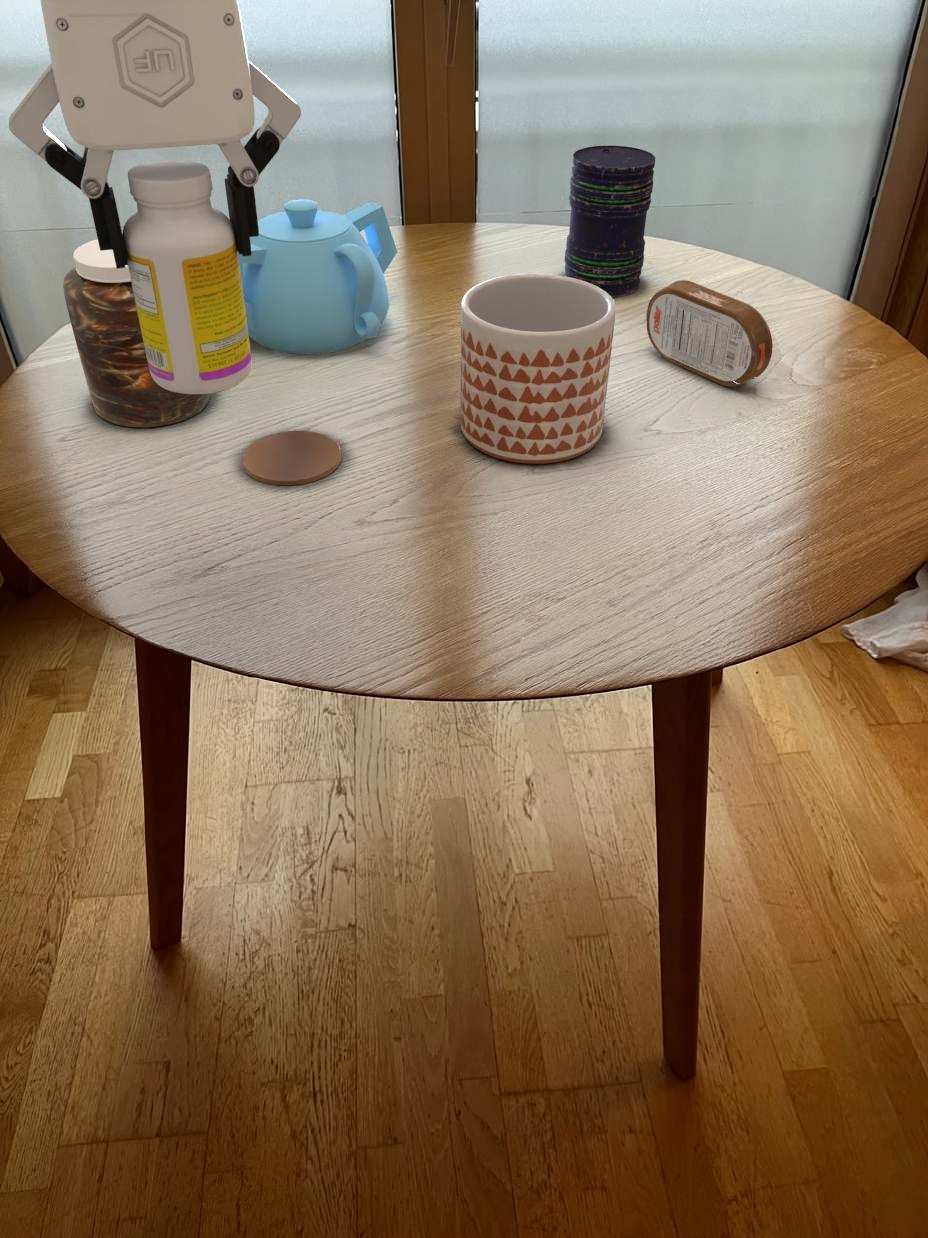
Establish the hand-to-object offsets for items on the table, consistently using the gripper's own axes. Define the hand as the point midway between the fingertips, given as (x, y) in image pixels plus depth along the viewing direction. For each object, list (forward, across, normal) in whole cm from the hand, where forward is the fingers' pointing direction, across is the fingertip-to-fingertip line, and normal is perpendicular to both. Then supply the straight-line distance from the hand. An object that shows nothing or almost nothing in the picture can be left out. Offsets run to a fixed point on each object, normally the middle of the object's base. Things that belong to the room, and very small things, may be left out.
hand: (182, 252), depth 59 cm
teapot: (+25, +16, +45) cm, 54 cm away
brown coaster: (+25, +8, +16) cm, 31 cm away
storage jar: (+24, +54, +46) cm, 75 cm away
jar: (+25, -3, +32) cm, 41 cm away
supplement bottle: (+8, 0, 0) cm, 8 cm away
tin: (+24, +53, +20) cm, 62 cm away
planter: (+25, +31, +14) cm, 42 cm away
